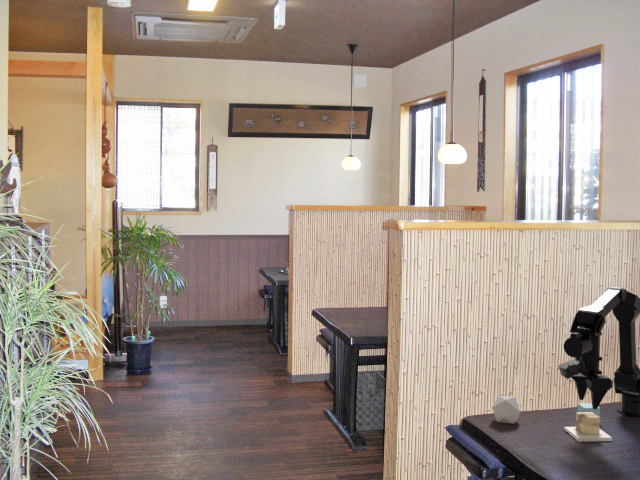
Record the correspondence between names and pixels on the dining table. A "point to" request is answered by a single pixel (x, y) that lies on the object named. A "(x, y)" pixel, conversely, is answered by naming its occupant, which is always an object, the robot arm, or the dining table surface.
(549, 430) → the dining table surface
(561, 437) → the dining table surface
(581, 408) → the teal brick
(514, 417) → the die
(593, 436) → the plate
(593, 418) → the maple brick
